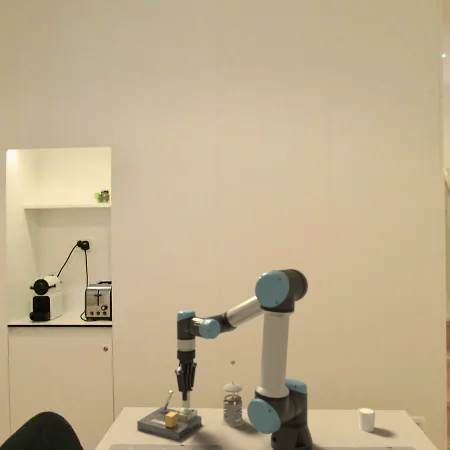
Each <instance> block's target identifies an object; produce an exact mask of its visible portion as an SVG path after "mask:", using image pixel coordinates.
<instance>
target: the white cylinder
mask: <svg viewBox="0 0 450 450" xmlns="http://www.w3.org/2000/svg"><path fill="white" fill-rule="evenodd" d="M356 411H357V418H358V428H359V430H360V431H364V432H366V433H367V432H368V433H372V432H374V431H375V420H376V410H375V409H373V408H369V407H364V406H363V407H358V408H357V409H356Z"/></svg>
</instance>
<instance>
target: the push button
mask: <svg viewBox="0 0 450 450" xmlns="http://www.w3.org/2000/svg"><path fill="white" fill-rule="evenodd" d="M179 409H180V414H184V415H189V414H191V413H192V409H193V408H192V407H190V408H189V409H186V408H182V407H181V408H179Z"/></svg>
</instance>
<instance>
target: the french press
mask: <svg viewBox="0 0 450 450" xmlns="http://www.w3.org/2000/svg"><path fill="white" fill-rule="evenodd" d="M230 364H232V365H234V364H236V361H235V360H231V361H230ZM222 389H223V390H224V392H227V393H232V394H226V395H225V396H224V397H223V399H224V400H223V402H222V405H223V412H222V413H223V417H222V419H221V420H220V423H221V424H222V425H224V426H225V427H230V428H233V427H234V428H236V427H240V426H242V425H244V424H245V420H244V418H243V400H242V396H240V394H235V393H239V392H241V391H242V390H243V386H242V385H240V384H239V383H237V382H236V383H235V382H231V383H227V384H225V385H224V386H222Z"/></svg>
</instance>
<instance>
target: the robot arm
mask: <svg viewBox="0 0 450 450" xmlns="http://www.w3.org/2000/svg"><path fill="white" fill-rule="evenodd" d="M308 289H309V282H308V278H307V277H306V276H305V274H304V273H303V272H301V271H300V270H298V269H295V268H288V269H287V268H286V269H272V270H270V271H265V273H262V274H261V275H260V276H259V277H258V279H257V281H256V282H255V286H254V296H252V297H251V298H248V299H247V300H244V301H243V302H241V303H240V304H238V305H236V306H234V307H232V308H230V309H229V310H227V311H225V312H223V313H220V314H217V315H216V314H215V315H213V316H208V317H199V316H196V311H195V310H192V309H182V310H179V311H178V312H177V316H176V339H177V340H176V348H177V350H176V358H177V360H178V362H179V363H178V368H177V369H176V368H175V369H174V373H175V376H176V381H177V390H178V392H180V393H181V397H182V398H181V400H182V401H181V402H182V403H181V404H182V407H181V408H186V409H189V408H191V392H193V390H194V389H193V388H194V386H195V379H196V378H195V377H196V376H195V375H196V369H197V366H198V363H197V362H195V361H194V360H195V359H196V349H195V348H196V337H197V338H203V339H205V340H215V339H217V337H218V336H219V335H220V334H223V333H230V332H232V331H234V330H235V331H236V330H237V328H238V327H239V326H242V325H243V324H245V323H247V322H249V321H251V320H253V319H255V318H257V317H259V316H261V315H263V314H264V315H263V327H262V343H261V358H260V361H261V362H260V377H259V382H258V383H257V384H256V385H255V387H254V397H253V399H251V401H250V402H249V403H248V405H247V407H246V408H247V409H246V410H247V412H246V413H247V417H248V420H249V422H250V423H251V424H252V427H253V428H254V429H255V430H256V431H257V432H259V433H261V434H264V435H270V446H271V448H272V449H273V450H313V445H314V444H313V437H312V434H311V432H310V429H309V425H308V394H309V393H308V386H307V384H306V383H305V382H304V381H302V380H298V379H294V378H287V361H288V343H289V342H288V341H289V329H290V316H291V315H293V313H295V307H296V306H295V305H296V302H298V301H300V300H302V299H303V298H304V297H305V296H306V295H307V293H308Z"/></svg>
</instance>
